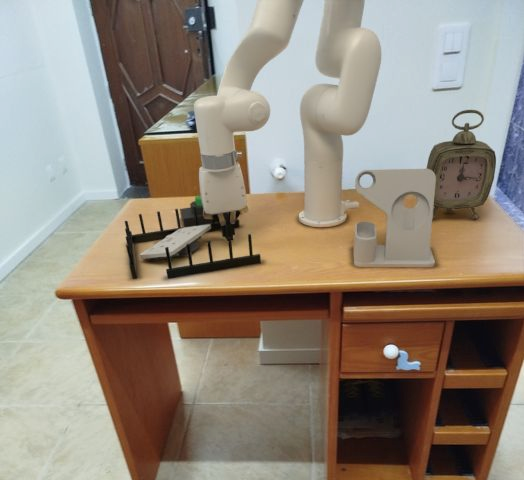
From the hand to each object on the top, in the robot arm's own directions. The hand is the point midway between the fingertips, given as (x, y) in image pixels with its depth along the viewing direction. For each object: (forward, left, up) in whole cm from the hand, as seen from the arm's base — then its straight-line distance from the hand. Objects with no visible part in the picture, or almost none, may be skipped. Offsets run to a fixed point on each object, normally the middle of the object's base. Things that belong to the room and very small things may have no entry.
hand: (229, 238), depth 116 cm
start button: (+3, -19, +3) cm, 19 cm away
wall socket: (+13, -2, -2) cm, 13 cm away
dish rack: (+10, 0, -2) cm, 10 cm away
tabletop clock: (-58, +3, -2) cm, 58 cm away
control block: (+3, -19, -2) cm, 19 cm away
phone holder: (-33, +20, -2) cm, 38 cm away
